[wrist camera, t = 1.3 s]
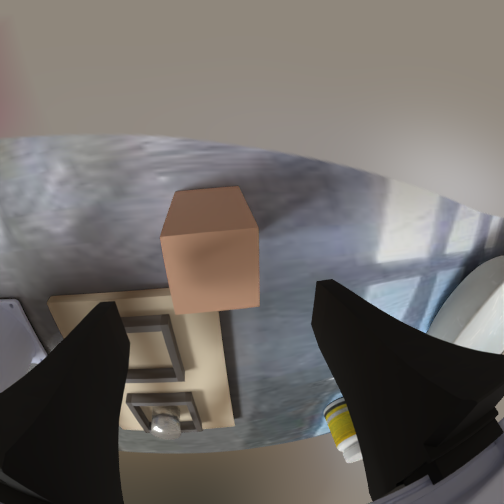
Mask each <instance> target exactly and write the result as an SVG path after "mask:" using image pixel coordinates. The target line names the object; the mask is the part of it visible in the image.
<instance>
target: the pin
mask: <svg viewBox="0 0 504 504" xmlns="http://www.w3.org/2000/svg"><path fill="white" fill-rule="evenodd" d="M151 433H152V434H153V435H154V436H156V437H158V438H162V439H176V438H178V437H180V435H181V429H180V409H179V408H178V407H177V406H153V408H152V425H151Z"/></svg>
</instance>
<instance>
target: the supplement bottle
mask: <svg viewBox="0 0 504 504" xmlns="http://www.w3.org/2000/svg"><path fill="white" fill-rule="evenodd" d="M324 417H325V419H326V421H327V424H328V426H329V429H330V431H331V434H332V436H333V439H334V442H335V444H336V447H337V448H338V450H339V451H342V452H343V456H344V458H345V460H346V462H347V463H352V462H356V461H358V460H361V459H363V458H362V454H361V450H360V446H359V442H358V439H357V436H356V432H355V429H354V426H353V422H352V419H351V417H350V414H349V411H348V408H347V405H346V402H345V400H344V398H340V399H338V400H336V401H334V402H332V403H331V404H329V405H328V406H327V407H326V408H325V410H324Z"/></svg>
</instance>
